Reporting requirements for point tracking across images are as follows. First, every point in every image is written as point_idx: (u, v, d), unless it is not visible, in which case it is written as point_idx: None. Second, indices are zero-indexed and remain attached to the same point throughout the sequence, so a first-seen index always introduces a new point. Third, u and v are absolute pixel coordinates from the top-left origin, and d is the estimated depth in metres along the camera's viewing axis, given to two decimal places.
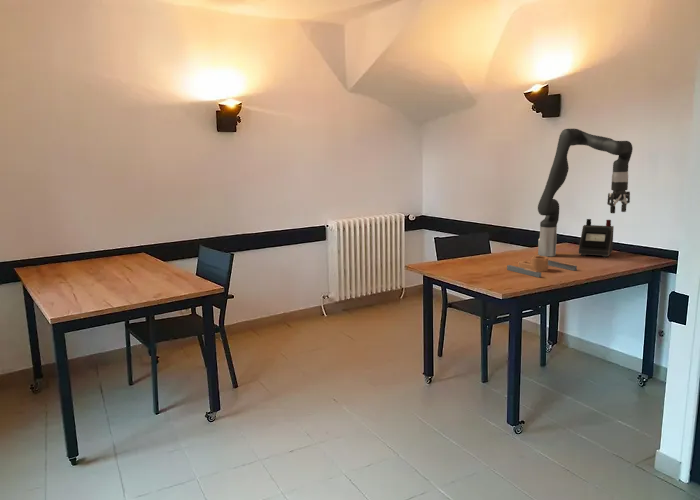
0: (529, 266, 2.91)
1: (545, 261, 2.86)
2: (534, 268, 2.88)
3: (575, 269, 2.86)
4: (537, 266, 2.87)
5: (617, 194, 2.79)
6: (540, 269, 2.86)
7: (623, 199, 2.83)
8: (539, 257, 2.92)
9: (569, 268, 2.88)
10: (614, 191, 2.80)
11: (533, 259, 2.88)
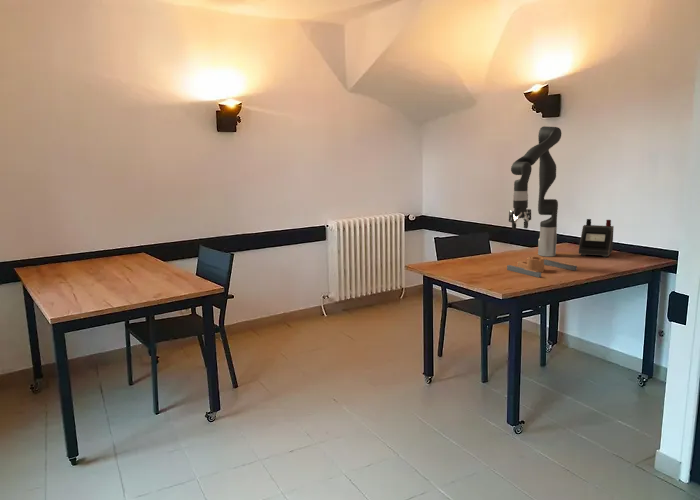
0: (525, 266, 2.91)
1: (540, 262, 2.85)
2: (529, 268, 2.88)
3: (575, 269, 2.86)
4: (532, 266, 2.86)
5: (518, 212, 2.96)
6: None
7: None
8: (536, 258, 2.91)
9: (569, 268, 2.88)
10: (515, 209, 2.96)
11: (528, 259, 2.88)
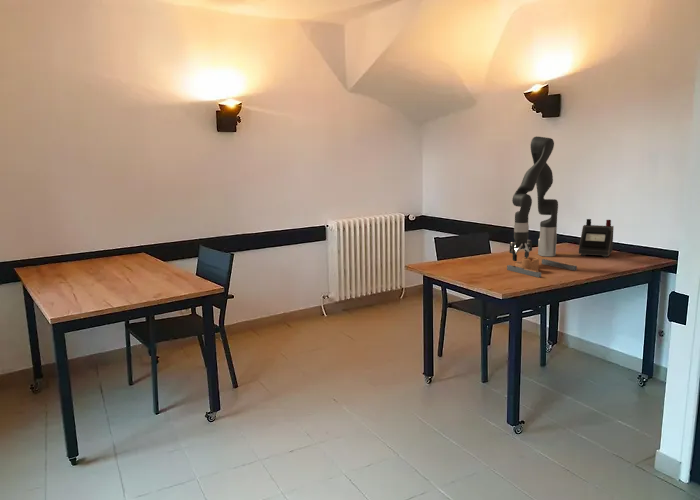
0: (520, 266, 2.91)
1: (532, 262, 2.84)
2: None
3: (575, 269, 2.86)
4: (524, 266, 2.86)
5: (518, 243, 2.98)
6: None
7: None
8: (532, 258, 2.90)
9: (569, 268, 2.88)
10: (515, 240, 2.98)
11: (522, 259, 2.88)
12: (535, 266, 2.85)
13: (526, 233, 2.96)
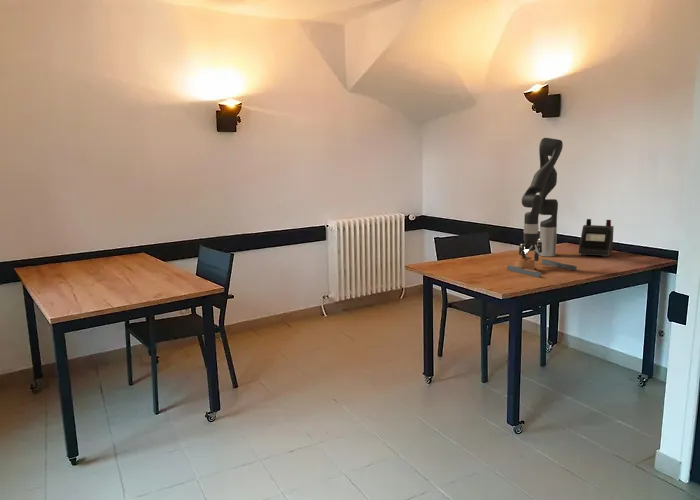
0: (516, 266, 2.92)
1: (527, 262, 2.84)
2: None
3: (575, 269, 2.86)
4: (520, 266, 2.87)
5: (528, 245, 2.92)
6: None
7: None
8: (529, 258, 2.90)
9: (569, 268, 2.88)
10: (525, 242, 2.92)
11: (518, 259, 2.88)
12: (530, 266, 2.84)
13: (536, 234, 2.90)
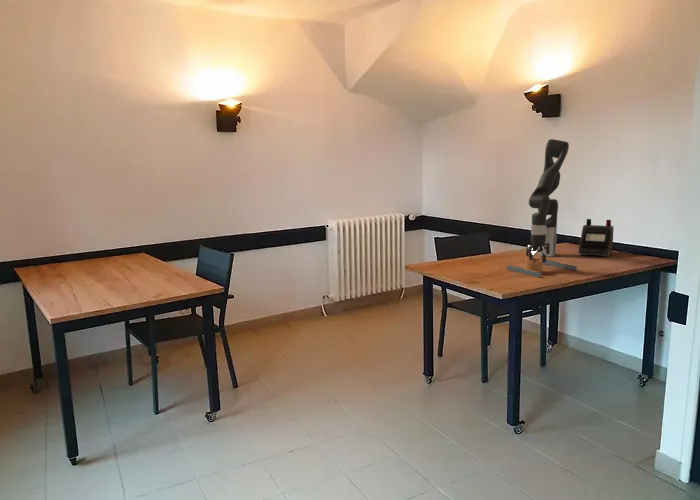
0: None
1: (536, 264, 2.79)
2: None
3: (575, 269, 2.86)
4: (528, 268, 2.82)
5: (535, 246, 2.87)
6: None
7: None
8: (535, 260, 2.85)
9: (569, 268, 2.88)
10: (533, 243, 2.88)
11: (525, 261, 2.84)
12: (538, 268, 2.80)
13: (544, 236, 2.85)
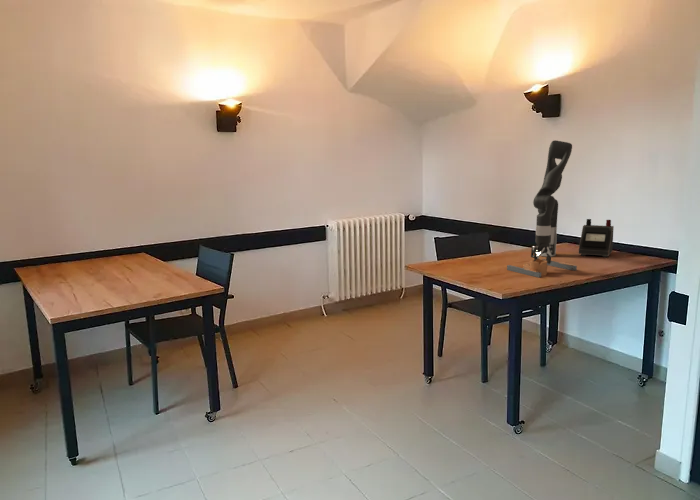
0: None
1: (541, 265, 2.77)
2: None
3: (575, 269, 2.86)
4: (532, 269, 2.79)
5: (540, 247, 2.85)
6: None
7: (547, 251, 2.89)
8: (540, 261, 2.83)
9: (569, 268, 2.88)
10: (537, 244, 2.85)
11: (530, 262, 2.81)
12: (543, 269, 2.77)
13: (549, 236, 2.83)
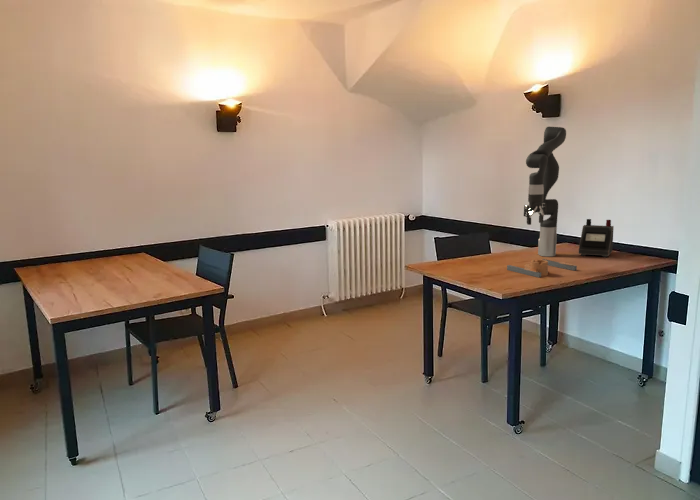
0: None
1: (541, 265, 2.76)
2: None
3: (575, 269, 2.86)
4: None
5: (533, 206, 2.88)
6: None
7: None
8: (541, 261, 2.82)
9: (569, 268, 2.88)
10: (530, 203, 2.88)
11: None
12: (544, 269, 2.77)
13: (541, 195, 2.86)
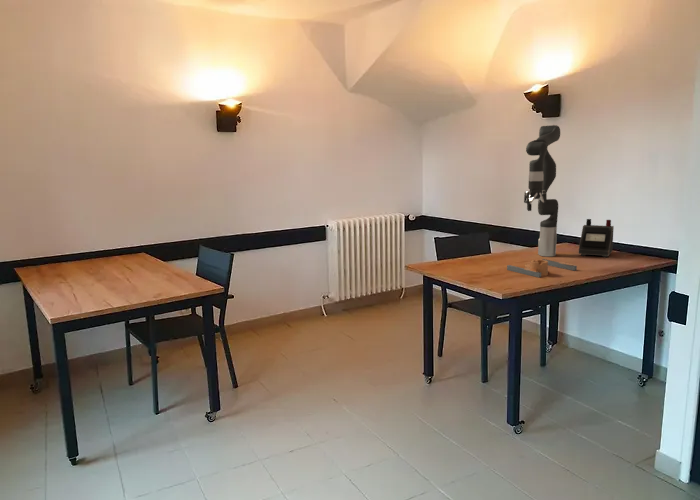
0: None
1: (541, 265, 2.76)
2: None
3: (575, 269, 2.86)
4: None
5: (533, 192, 2.94)
6: None
7: None
8: (541, 261, 2.82)
9: (569, 268, 2.88)
10: (530, 190, 2.94)
11: None
12: (544, 269, 2.77)
13: (541, 182, 2.92)
